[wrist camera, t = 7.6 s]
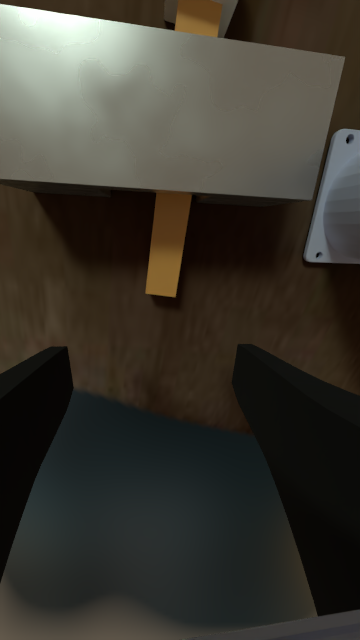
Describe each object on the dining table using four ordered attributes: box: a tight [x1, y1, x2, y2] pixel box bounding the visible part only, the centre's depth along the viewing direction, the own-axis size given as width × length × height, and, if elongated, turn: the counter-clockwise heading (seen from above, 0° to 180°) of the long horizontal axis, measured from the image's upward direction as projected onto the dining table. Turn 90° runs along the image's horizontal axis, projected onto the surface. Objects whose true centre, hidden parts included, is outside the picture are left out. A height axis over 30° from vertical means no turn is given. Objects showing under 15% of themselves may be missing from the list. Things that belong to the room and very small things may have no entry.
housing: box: [0, 4, 345, 207], centre depth 12 cm, size 15×5×5 cm, turn 87°
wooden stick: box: [146, 0, 238, 297], centre depth 13 cm, size 17×3×3 cm, turn 170°
